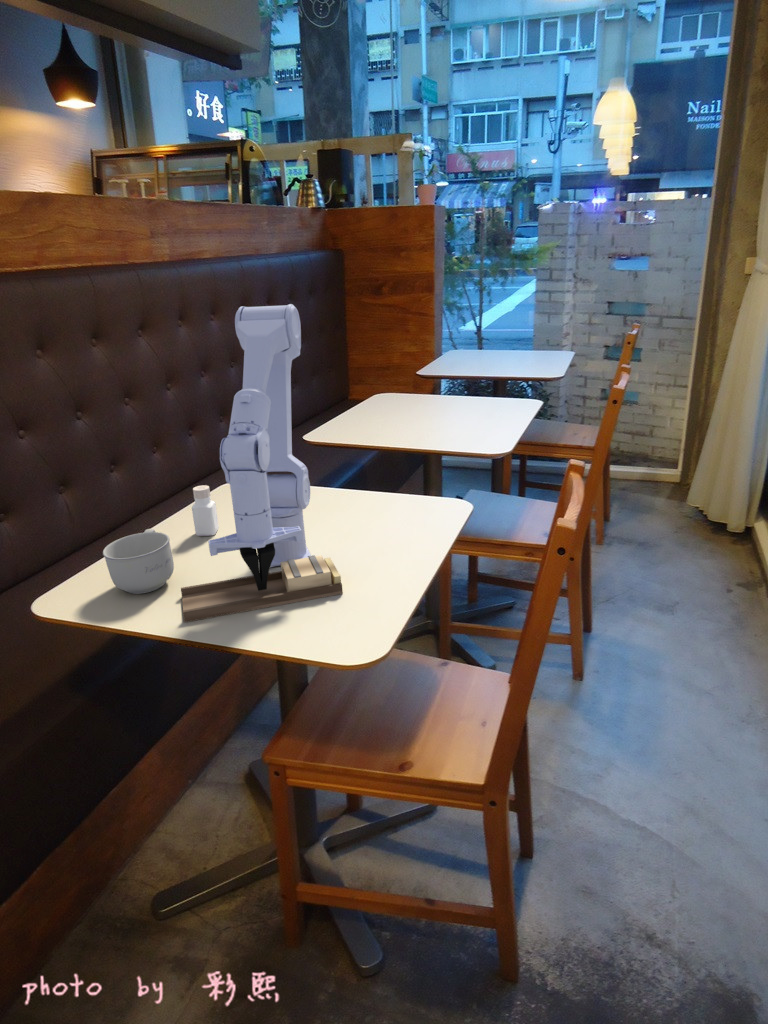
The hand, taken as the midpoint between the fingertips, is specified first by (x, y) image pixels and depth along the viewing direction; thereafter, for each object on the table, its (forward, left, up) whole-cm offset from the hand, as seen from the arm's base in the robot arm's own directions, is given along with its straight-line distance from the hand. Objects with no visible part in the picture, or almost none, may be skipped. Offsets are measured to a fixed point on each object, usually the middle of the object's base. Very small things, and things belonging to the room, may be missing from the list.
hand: (261, 587), depth 121 cm
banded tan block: (0, +7, -1) cm, 8 cm away
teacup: (-13, -18, -2) cm, 22 cm away
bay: (0, 0, -1) cm, 1 cm away
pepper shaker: (-32, -7, -2) cm, 33 cm away
